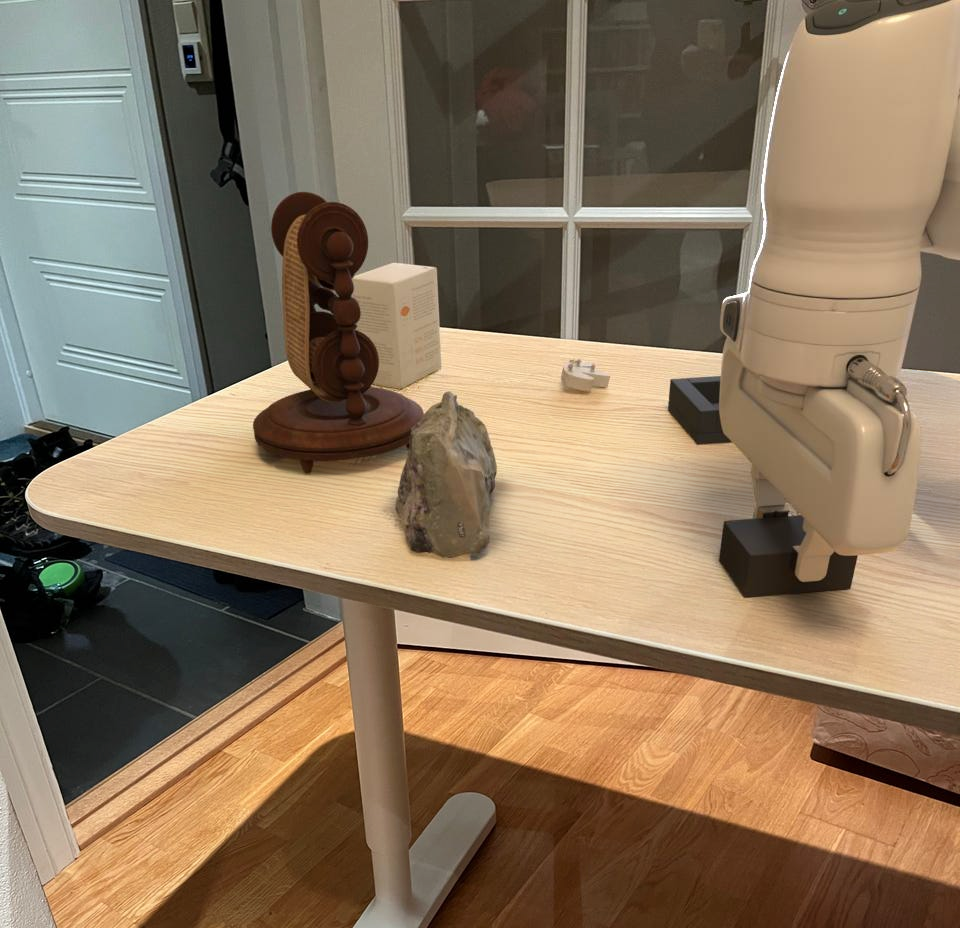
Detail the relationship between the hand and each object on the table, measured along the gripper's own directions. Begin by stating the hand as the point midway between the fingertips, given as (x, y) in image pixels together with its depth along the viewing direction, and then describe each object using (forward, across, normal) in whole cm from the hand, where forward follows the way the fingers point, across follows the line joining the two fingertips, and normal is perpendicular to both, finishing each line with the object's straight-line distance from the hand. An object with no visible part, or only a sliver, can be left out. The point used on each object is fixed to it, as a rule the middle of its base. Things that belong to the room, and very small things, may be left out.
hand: (786, 552), depth 60 cm
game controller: (+2, +42, +8) cm, 42 cm away
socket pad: (+2, +28, -7) cm, 28 cm away
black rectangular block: (+2, 0, 0) cm, 2 cm away
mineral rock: (+2, +12, +20) cm, 23 cm away
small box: (+2, +48, +23) cm, 53 cm away
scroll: (+2, +28, +29) cm, 41 cm away
